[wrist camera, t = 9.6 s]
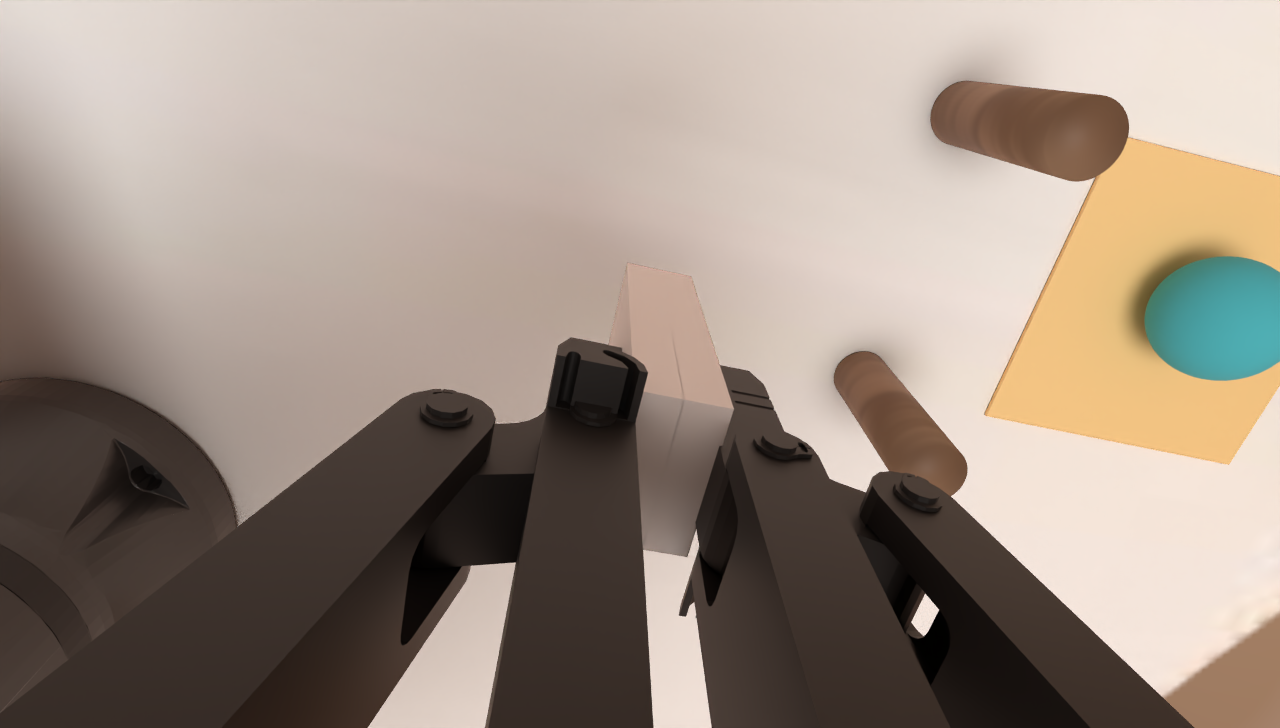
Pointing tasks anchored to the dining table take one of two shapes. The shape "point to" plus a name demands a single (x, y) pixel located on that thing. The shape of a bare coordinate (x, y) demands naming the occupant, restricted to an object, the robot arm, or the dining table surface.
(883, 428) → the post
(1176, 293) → the ball
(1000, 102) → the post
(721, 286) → the dining table surface
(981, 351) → the dining table surface
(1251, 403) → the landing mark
